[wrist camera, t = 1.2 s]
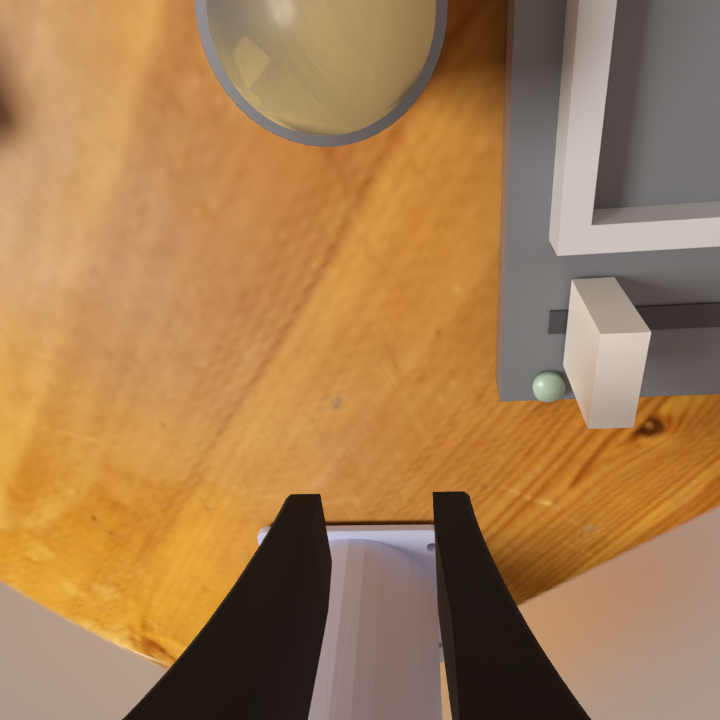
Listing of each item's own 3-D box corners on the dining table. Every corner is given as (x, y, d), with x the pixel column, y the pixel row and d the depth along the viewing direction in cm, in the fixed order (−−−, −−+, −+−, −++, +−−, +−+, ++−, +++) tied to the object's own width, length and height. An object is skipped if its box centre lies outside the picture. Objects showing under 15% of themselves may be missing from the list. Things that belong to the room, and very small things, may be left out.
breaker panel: (797, 370, 20) (840, 413, 18) (496, 381, 21) (504, 423, 19) (989, -177, 13) (1097, -205, 11) (511, -116, 14) (528, -131, 12)
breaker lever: (601, 363, 19) (633, 427, 16) (562, 365, 19) (587, 428, 17) (614, 277, 17) (651, 331, 15) (571, 279, 18) (600, 334, 15)
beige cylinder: (437, 87, 16) (449, 137, 11) (280, 101, 17) (224, 155, 12) (432, -117, 14) (445, -168, 9) (250, -93, 15) (164, -129, 10)
